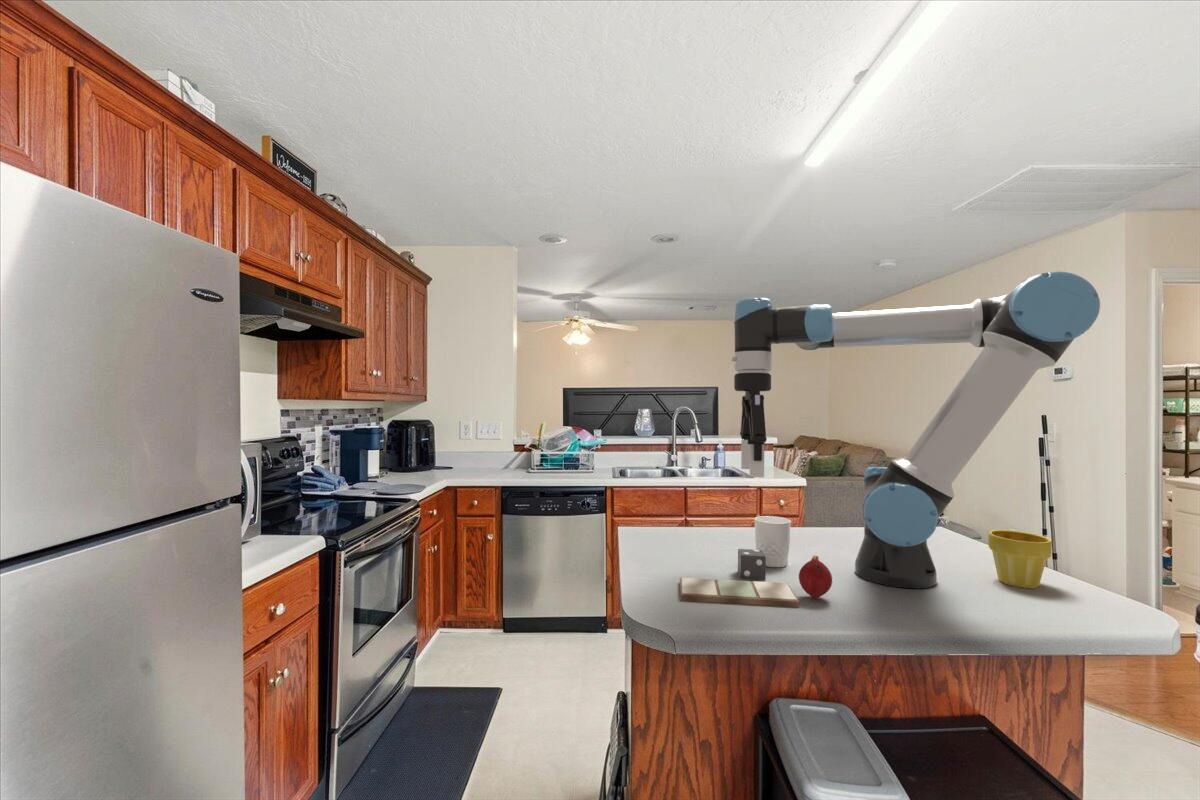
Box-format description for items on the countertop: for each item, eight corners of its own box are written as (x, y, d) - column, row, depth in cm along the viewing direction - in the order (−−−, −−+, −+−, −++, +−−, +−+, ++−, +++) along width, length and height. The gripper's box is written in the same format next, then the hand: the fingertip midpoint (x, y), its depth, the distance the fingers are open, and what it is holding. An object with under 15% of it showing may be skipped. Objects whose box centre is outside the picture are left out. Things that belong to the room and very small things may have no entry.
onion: (835, 605, 98) (835, 561, 98) (801, 602, 99) (801, 559, 99) (828, 594, 104) (828, 552, 104) (796, 592, 105) (796, 550, 105)
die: (761, 573, 117) (761, 549, 117) (765, 580, 112) (765, 555, 112) (737, 571, 118) (738, 548, 118) (740, 579, 112) (740, 554, 112)
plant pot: (1064, 593, 105) (1064, 543, 105) (1005, 590, 107) (1006, 540, 107) (1031, 576, 116) (1031, 530, 116) (977, 573, 117) (978, 528, 117)
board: (787, 588, 107) (787, 582, 107) (799, 607, 97) (799, 600, 97) (680, 582, 110) (680, 576, 110) (680, 600, 100) (680, 593, 100)
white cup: (795, 568, 120) (795, 523, 120) (759, 568, 120) (760, 523, 120) (783, 558, 128) (784, 516, 128) (750, 558, 128) (750, 515, 128)
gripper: (728, 375, 128) (728, 465, 128) (741, 368, 103) (740, 480, 103) (761, 375, 127) (760, 466, 127) (782, 368, 102) (781, 481, 102)
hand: (751, 473), depth 115 cm, fingers open, 13 cm apart
